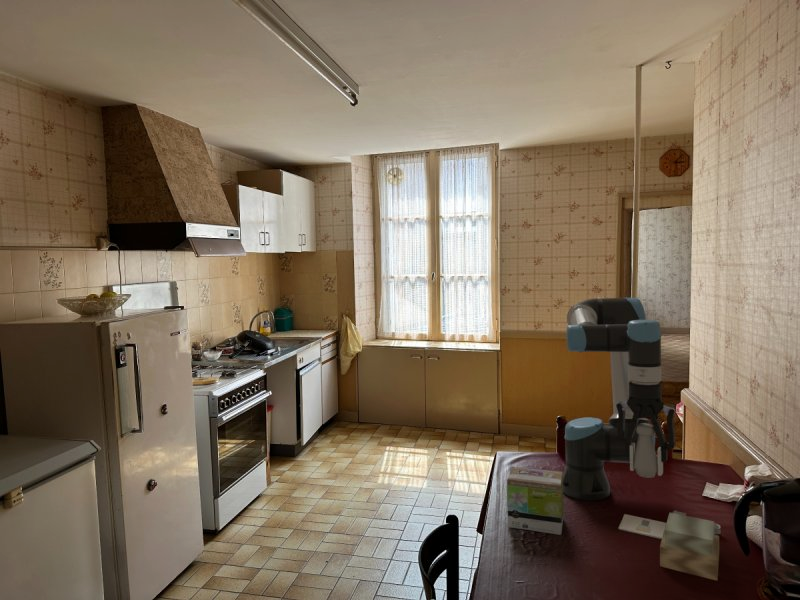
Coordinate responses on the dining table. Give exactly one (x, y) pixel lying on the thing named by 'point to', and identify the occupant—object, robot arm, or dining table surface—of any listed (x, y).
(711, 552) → the zigzag patterned box
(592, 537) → the dining table surface
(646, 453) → the salt shaker
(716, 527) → the toy set
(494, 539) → the dining table surface
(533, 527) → the tea box
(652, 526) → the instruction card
